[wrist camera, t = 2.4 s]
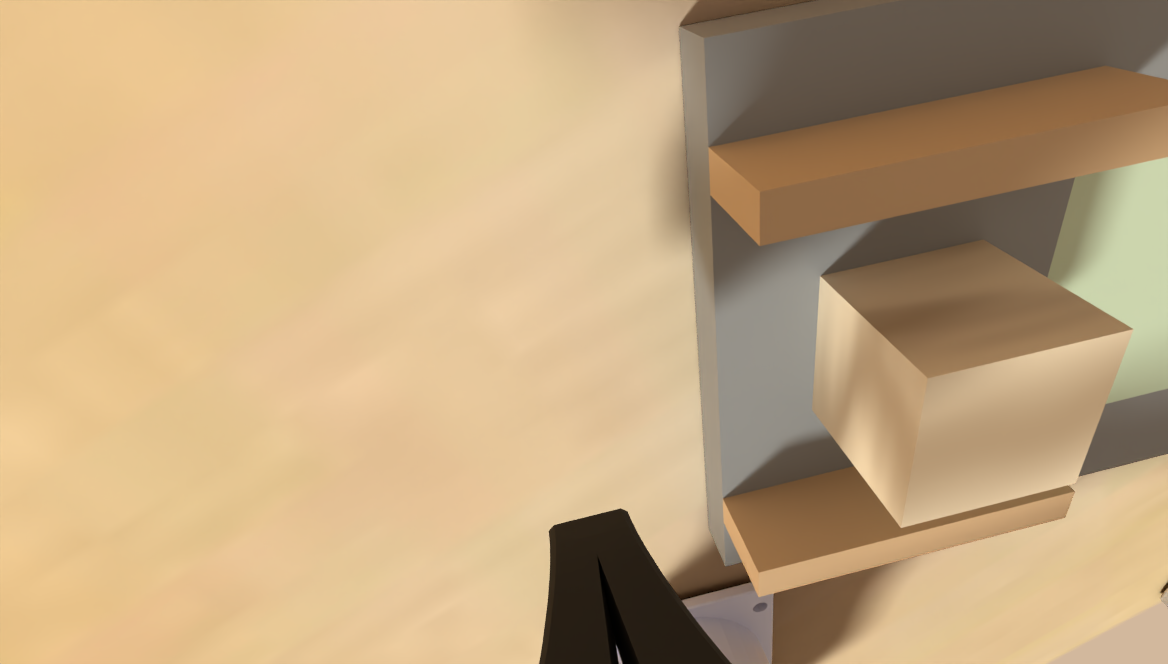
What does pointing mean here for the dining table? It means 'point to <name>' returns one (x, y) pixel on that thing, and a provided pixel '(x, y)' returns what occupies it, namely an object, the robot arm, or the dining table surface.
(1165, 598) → the coffee box
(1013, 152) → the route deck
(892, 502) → the birch block
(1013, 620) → the dining table surface
